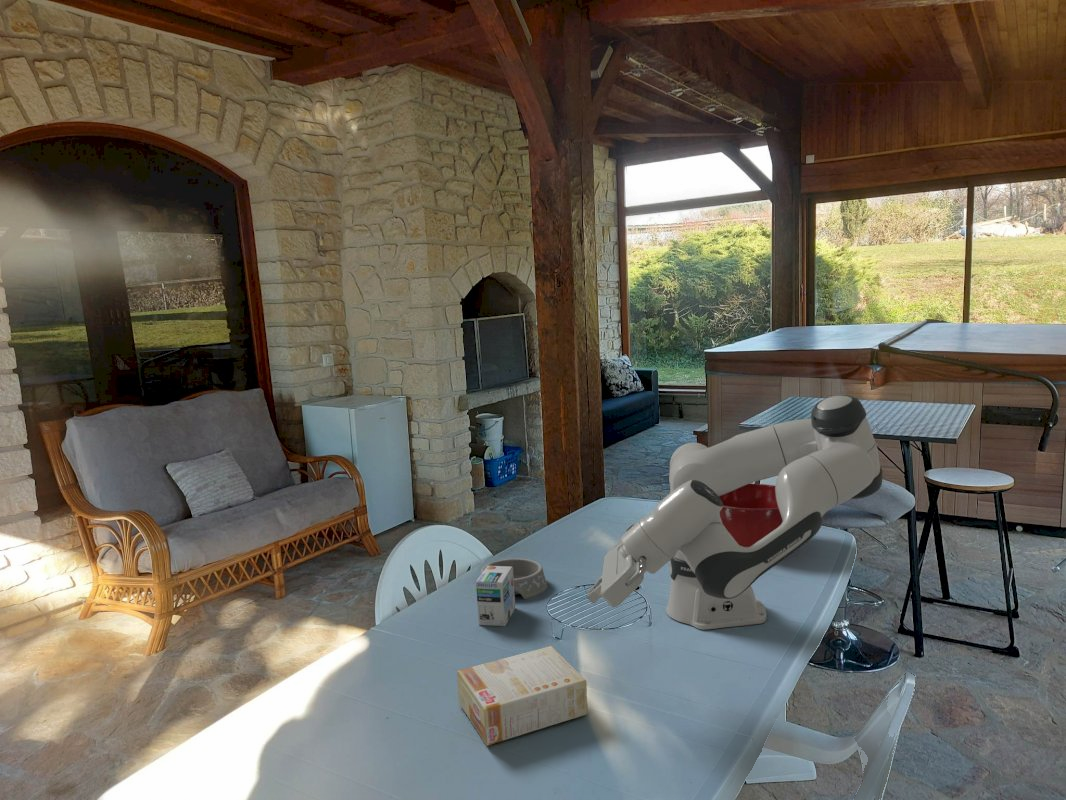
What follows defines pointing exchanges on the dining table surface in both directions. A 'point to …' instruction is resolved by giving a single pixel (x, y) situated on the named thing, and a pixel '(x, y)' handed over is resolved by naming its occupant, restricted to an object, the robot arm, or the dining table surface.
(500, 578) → the light bulb box
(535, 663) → the coffeecake box
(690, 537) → the robot arm
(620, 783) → the dining table surface
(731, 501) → the mixing bowl
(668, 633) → the dining table surface
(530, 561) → the dog bowl
